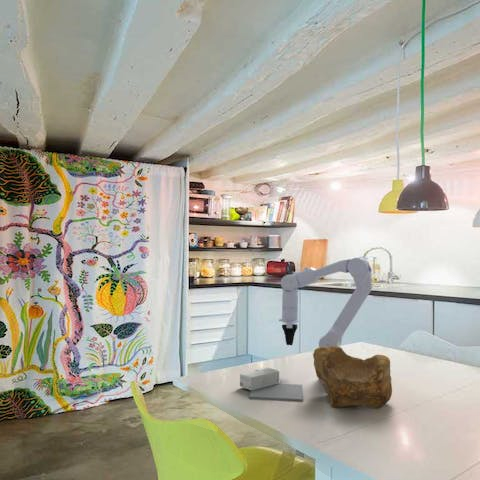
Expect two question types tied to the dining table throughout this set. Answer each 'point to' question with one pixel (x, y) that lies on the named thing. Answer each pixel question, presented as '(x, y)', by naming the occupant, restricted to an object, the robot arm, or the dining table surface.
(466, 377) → the dining table surface
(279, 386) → the rubber mat
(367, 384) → the rough brown rock
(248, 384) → the skincare box
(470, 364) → the dining table surface
